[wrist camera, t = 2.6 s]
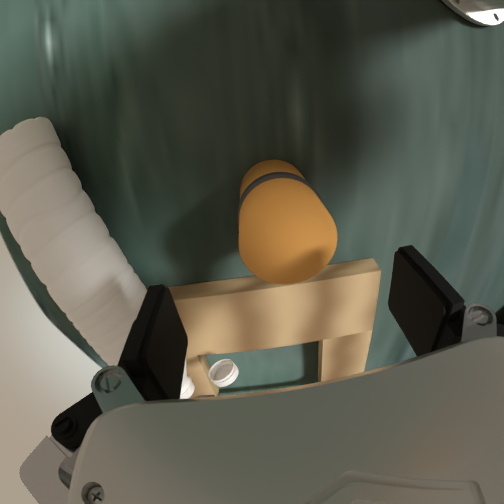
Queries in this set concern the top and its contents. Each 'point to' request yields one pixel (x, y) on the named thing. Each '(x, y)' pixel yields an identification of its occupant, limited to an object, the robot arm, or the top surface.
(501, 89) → the top surface
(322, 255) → the banded orange cylinder
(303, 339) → the oak frame
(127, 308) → the water bottle
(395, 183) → the top surface
